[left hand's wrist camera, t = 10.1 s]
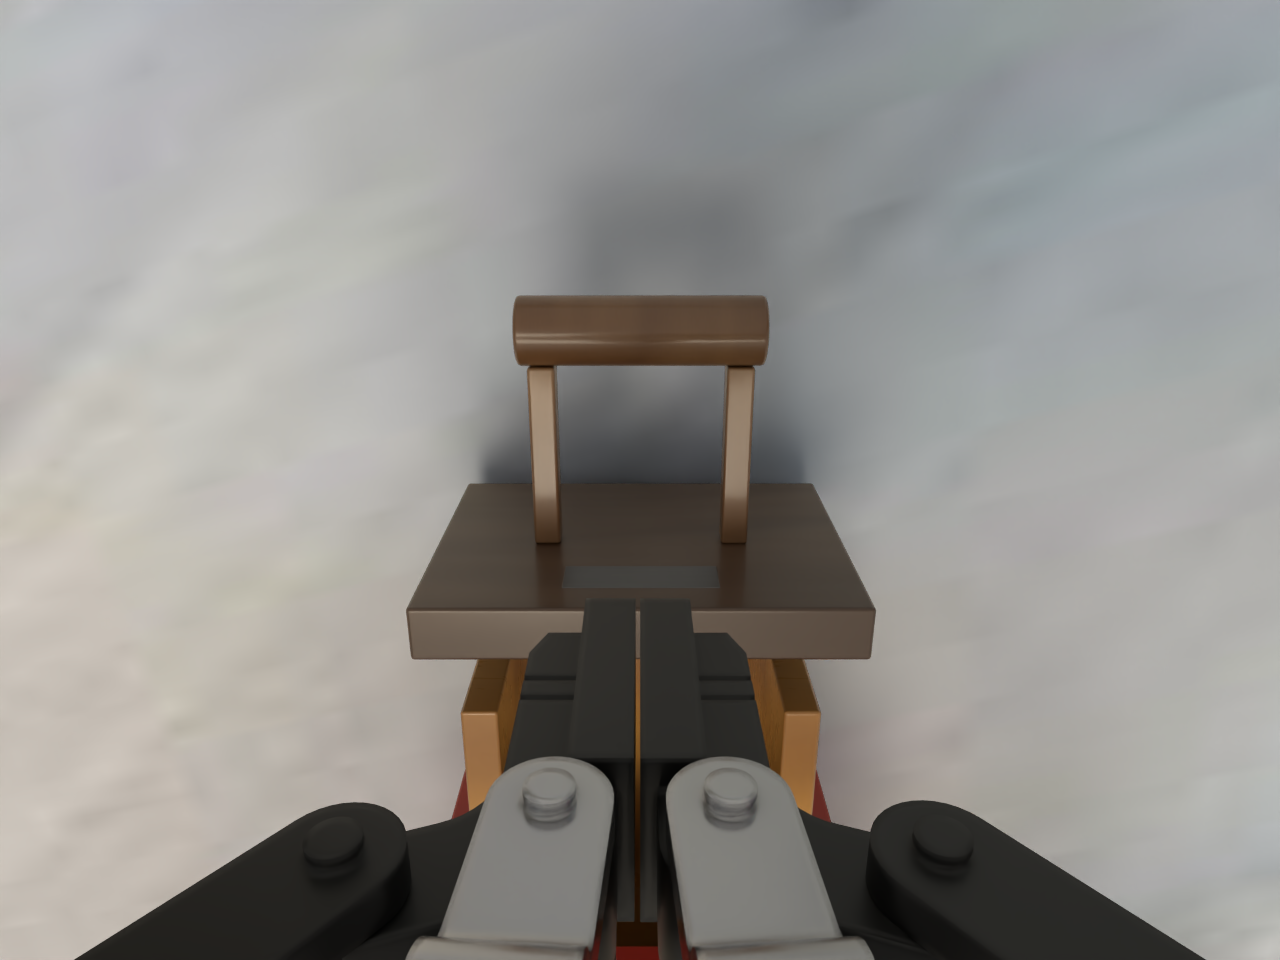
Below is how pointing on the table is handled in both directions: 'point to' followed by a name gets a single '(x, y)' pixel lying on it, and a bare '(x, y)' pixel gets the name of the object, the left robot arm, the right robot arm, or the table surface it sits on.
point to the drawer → (642, 544)
